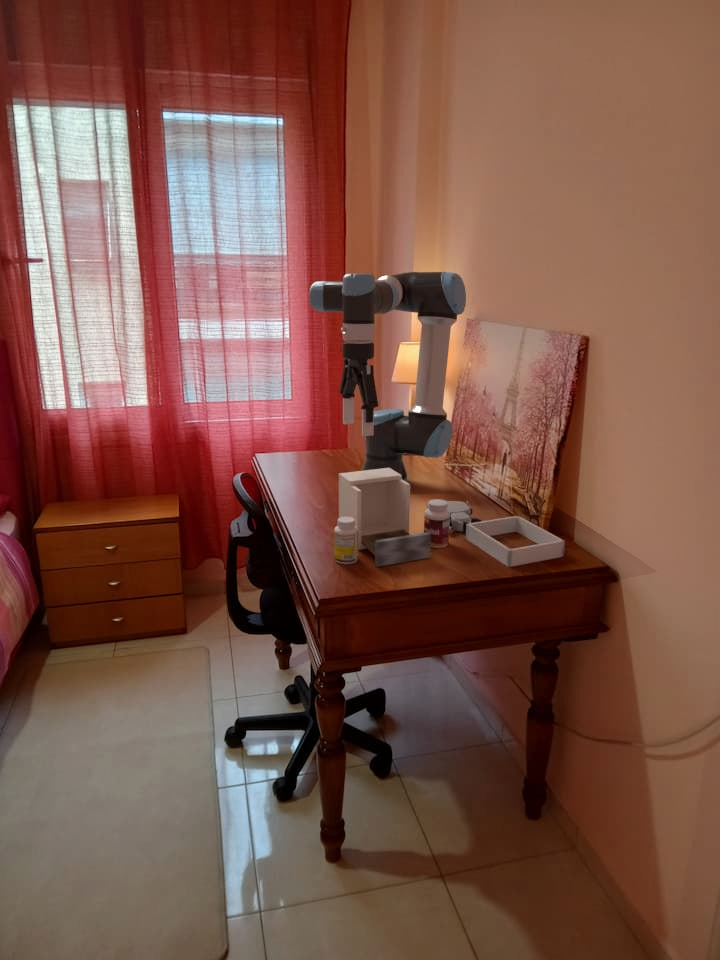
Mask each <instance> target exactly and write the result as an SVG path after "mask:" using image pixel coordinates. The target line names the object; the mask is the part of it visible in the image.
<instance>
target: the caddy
mask: <svg viewBox="0 0 720 960" xmlns="http://www.w3.org/2000/svg"><path fill="white" fill-rule="evenodd" d="M410 507H411V484H410V483H409V482H408V481H407V482H406V481H404V480H402V475H401V474H399V473H397V472H396V471H394V470H392V469H391V468H382V469H373V470H365V471H362V470H358V471H348V472H340V473H338V519H339V518H341V517H352V518H354V519H355V526H357V527H358V551H360V550H366V549H367V548H366V547H365V546H364V545H363V544H362V536H364V535H370V534H376V533H383V532H389V531H396V530H402V529H403V530H405V531H406V532H407V533H409V534H410V515H411V514H410V513H411V512H410V511H411V510H410Z"/></svg>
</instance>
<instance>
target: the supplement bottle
mask: <svg viewBox="0 0 720 960" xmlns="http://www.w3.org/2000/svg"><path fill="white" fill-rule="evenodd" d="M336 523H337V525H336V526H335V527H334V529H333V533H334V536H333V537H334V538H333V539H334V561H336V563H338V564H340V565H352V564H355V563H357V562H358V560H359V550H358V527H357V526H355V519H354V518H352V517H341V518H339V517H338V518H337V522H336Z"/></svg>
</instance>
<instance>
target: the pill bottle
mask: <svg viewBox="0 0 720 960" xmlns="http://www.w3.org/2000/svg"><path fill="white" fill-rule="evenodd" d="M446 501H447V500H444V499H441V498H440V499H438V498H437V499H436V498H434V499H431V500H428V502H427V505H428V508H429V509H428V508H427V509H426V510H425V512H424V521H423V522H424V524H423V533H426V532H429V533H430V534H431V542H430V549H431V548H433V549H443V548H446V547H447V546H448V545H449V537H450V530H449V522H450V513H449V511H448V510H446V509H447V502H446Z"/></svg>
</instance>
